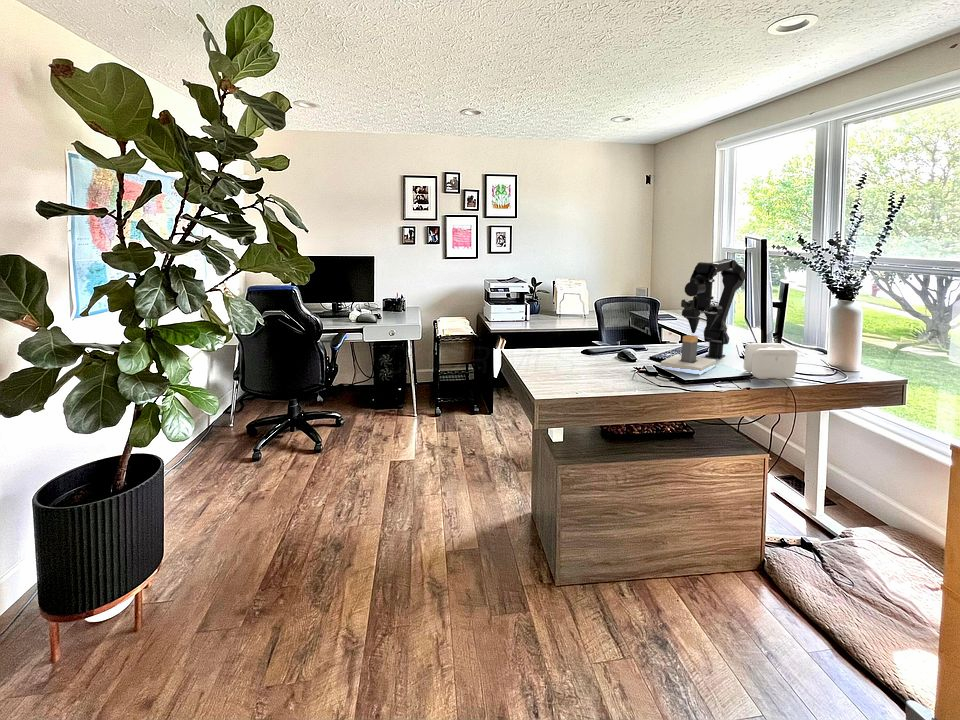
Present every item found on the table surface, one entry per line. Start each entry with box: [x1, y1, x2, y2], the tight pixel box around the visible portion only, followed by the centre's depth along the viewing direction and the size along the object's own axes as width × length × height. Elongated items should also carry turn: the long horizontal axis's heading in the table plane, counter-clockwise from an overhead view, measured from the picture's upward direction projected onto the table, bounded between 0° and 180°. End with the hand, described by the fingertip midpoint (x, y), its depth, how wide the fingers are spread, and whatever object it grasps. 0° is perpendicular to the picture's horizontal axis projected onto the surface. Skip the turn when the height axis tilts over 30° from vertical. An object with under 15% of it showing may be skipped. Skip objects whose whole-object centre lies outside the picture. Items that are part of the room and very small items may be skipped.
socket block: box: [660, 353, 717, 371], centre depth 225 cm, size 16×16×3 cm
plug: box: [680, 334, 699, 363], centre depth 224 cm, size 4×4×13 cm
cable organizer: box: [743, 342, 798, 380], centre depth 211 cm, size 15×11×12 cm
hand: (700, 331), depth 230 cm, fingers open, 9 cm apart
